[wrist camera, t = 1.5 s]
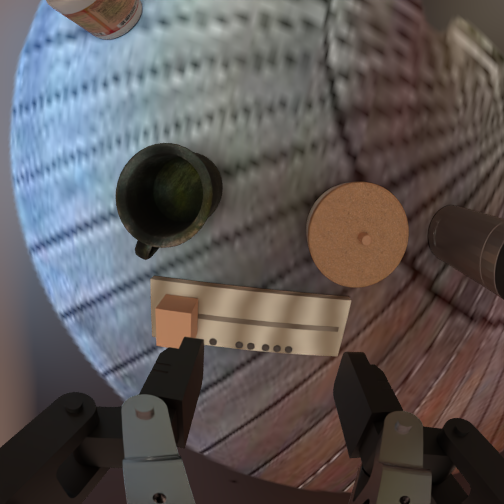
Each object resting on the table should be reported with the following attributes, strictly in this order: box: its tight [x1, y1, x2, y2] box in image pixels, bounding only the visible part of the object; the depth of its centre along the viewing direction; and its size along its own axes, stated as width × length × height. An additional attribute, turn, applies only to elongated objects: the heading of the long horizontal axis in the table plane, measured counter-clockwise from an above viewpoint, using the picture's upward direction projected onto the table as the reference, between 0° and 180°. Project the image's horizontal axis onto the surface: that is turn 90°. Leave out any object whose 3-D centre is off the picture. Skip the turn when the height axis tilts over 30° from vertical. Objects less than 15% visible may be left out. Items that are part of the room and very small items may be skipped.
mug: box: [116, 143, 222, 260], centre depth 37 cm, size 11×15×12 cm
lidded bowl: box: [306, 182, 409, 287], centre depth 38 cm, size 13×13×11 cm
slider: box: [155, 294, 198, 349], centre depth 43 cm, size 5×6×5 cm
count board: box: [151, 276, 351, 356], centre depth 47 cm, size 30×10×2 cm, turn 84°
